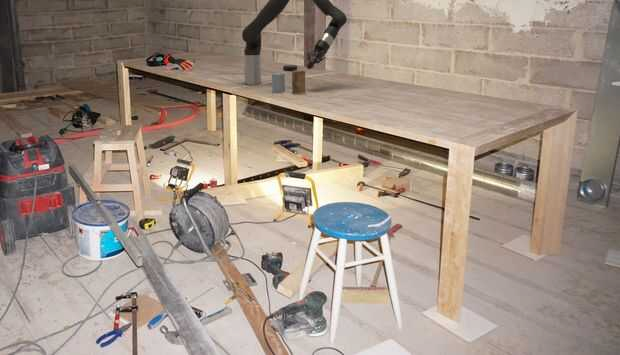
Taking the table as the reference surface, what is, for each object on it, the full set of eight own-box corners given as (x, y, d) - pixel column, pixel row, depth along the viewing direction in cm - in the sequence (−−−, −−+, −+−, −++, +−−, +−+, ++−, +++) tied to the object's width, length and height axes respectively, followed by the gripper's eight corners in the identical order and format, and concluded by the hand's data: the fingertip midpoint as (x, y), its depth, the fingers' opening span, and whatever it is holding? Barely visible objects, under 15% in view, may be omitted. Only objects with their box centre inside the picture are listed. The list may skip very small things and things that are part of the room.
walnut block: (292, 93, 302) (291, 71, 299) (299, 92, 306) (298, 70, 302) (298, 94, 299) (298, 72, 295) (305, 93, 302) (305, 71, 298)
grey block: (272, 92, 306) (271, 73, 303) (277, 90, 310) (277, 72, 307) (279, 93, 303) (279, 74, 300) (284, 91, 307) (284, 73, 304)
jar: (281, 88, 318) (281, 66, 314) (284, 85, 326) (283, 64, 322) (296, 88, 317) (296, 67, 313) (299, 85, 324) (299, 65, 320)
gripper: (312, 38, 309) (296, 62, 305) (329, 39, 300) (313, 64, 296) (319, 47, 314) (303, 71, 310) (336, 48, 305) (320, 73, 301)
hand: (308, 68), depth 303 cm, fingers closed
